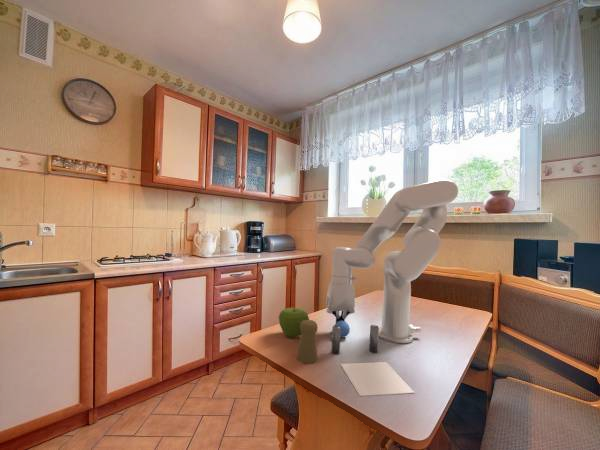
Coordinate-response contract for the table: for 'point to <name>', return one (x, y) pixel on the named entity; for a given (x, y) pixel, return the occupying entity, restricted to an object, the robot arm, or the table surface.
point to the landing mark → (375, 379)
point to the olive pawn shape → (307, 342)
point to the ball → (343, 328)
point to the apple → (292, 321)
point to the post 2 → (373, 339)
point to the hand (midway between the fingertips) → (339, 328)
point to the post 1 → (336, 339)
